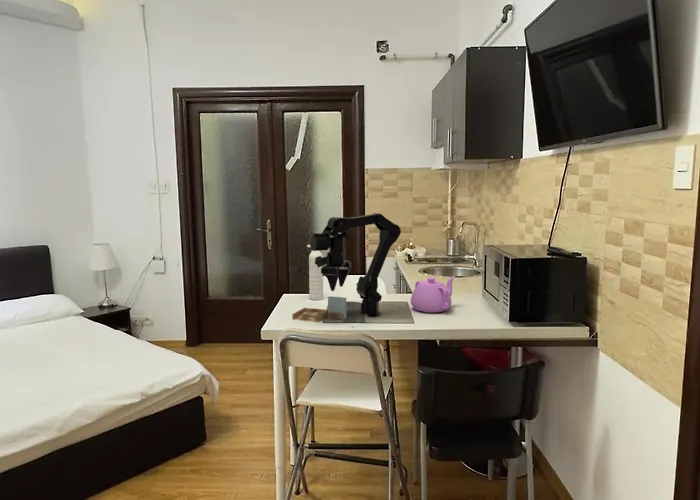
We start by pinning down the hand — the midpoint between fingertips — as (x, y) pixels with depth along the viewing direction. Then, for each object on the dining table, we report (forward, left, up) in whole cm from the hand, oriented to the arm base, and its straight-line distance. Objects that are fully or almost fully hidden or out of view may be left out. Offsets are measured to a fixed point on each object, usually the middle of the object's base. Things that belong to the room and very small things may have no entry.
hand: (336, 288), depth 206 cm
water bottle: (+24, -32, -13) cm, 42 cm away
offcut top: (+9, +5, -11) cm, 15 cm away
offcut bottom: (+10, +5, -12) cm, 16 cm away
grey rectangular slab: (0, 0, -12) cm, 13 cm away
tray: (+10, +3, -12) cm, 16 cm away
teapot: (-33, -31, -13) cm, 47 cm away
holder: (0, 0, -12) cm, 12 cm away
